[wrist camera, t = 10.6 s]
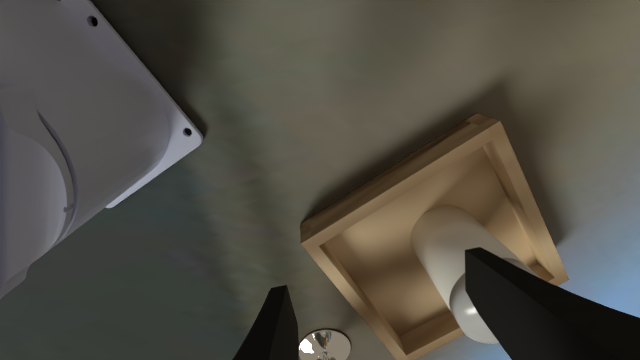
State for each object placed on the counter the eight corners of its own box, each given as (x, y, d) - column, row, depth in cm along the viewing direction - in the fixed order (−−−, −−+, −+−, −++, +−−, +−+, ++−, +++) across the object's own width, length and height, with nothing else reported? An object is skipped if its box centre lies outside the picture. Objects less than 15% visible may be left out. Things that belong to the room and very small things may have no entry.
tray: (300, 224, 22) (300, 243, 19) (476, 113, 20) (500, 120, 17) (392, 339, 26) (401, 366, 24) (543, 258, 24) (569, 279, 22)
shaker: (410, 209, 21) (461, 276, 15) (477, 201, 21) (557, 264, 15) (410, 265, 23) (455, 348, 16) (471, 258, 23) (541, 337, 16)
